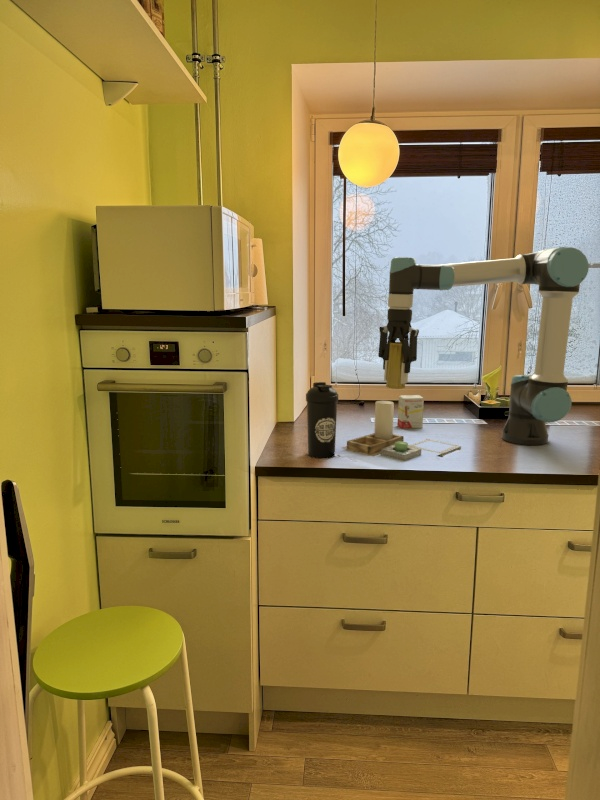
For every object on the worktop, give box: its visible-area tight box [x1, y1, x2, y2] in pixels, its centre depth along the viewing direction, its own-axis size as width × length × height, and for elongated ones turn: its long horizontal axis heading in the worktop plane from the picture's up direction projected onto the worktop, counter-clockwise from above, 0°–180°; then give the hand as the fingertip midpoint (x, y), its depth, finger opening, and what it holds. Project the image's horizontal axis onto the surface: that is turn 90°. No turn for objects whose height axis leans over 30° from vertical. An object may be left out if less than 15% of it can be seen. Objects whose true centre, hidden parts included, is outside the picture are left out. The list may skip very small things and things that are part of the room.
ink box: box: [397, 394, 425, 429], centre depth 223 cm, size 9×5×12 cm, turn 98°
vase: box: [385, 341, 406, 390], centre depth 187 cm, size 6×6×14 cm
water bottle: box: [305, 381, 339, 460], centre depth 186 cm, size 10×10×23 cm
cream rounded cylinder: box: [374, 400, 395, 440], centre depth 195 cm, size 6×6×14 cm
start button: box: [395, 441, 409, 451], centre depth 184 cm, size 4×4×2 cm
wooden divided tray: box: [342, 432, 404, 457], centre depth 194 cm, size 13×19×4 cm
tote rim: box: [408, 438, 462, 458], centre depth 194 cm, size 13×12×1 cm
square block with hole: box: [380, 444, 422, 462], centre depth 184 cm, size 9×9×3 cm
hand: (395, 381), depth 188 cm, fingers closed on vase, 6 cm apart
